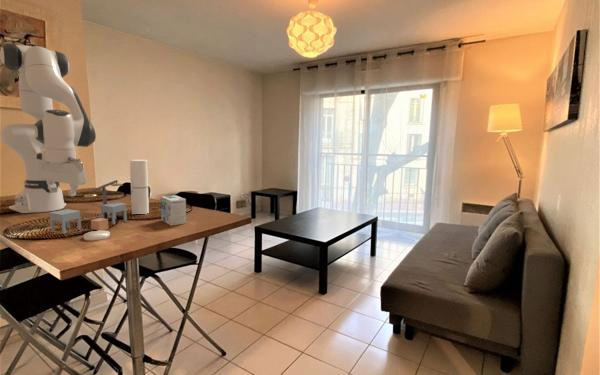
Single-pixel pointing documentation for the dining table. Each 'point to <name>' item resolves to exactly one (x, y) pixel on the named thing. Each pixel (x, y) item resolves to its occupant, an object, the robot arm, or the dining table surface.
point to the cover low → (65, 219)
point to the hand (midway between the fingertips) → (62, 194)
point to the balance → (103, 196)
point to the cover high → (114, 210)
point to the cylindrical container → (139, 186)
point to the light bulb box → (173, 210)
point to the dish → (96, 235)
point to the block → (99, 224)
